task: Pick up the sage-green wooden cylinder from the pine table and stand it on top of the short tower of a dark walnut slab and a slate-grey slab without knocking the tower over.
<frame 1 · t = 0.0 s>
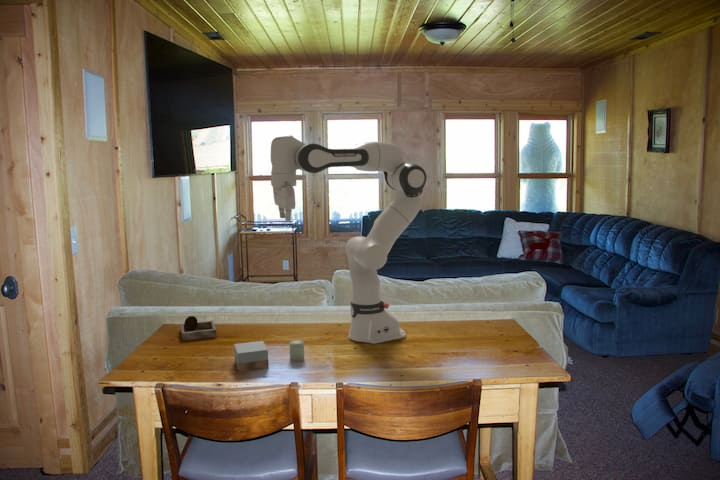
hand: (285, 219, 209), 48 cm above the table, fingers open, 8 cm apart
walnut slab: (251, 366, 198), on the table, touching grey slab
compass: (198, 334, 233), resting in wooden frame
wooden frame: (198, 333, 233), on the table
green cylinder: (297, 359, 203), on the table
grey slab: (251, 356, 198), point 3 cm above the table, touching walnut slab
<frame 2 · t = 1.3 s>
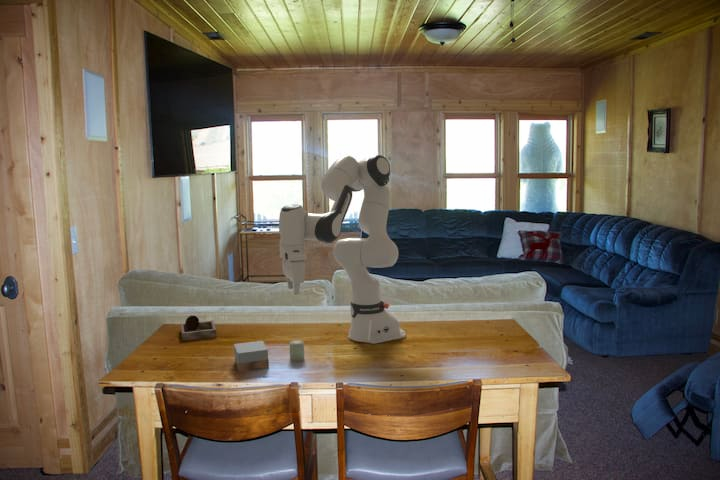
hand: (293, 291, 201), 24 cm above the table, fingers open, 8 cm apart
walnut slab: (251, 366, 198), on the table
grey slab: (251, 356, 198), point 3 cm above the table
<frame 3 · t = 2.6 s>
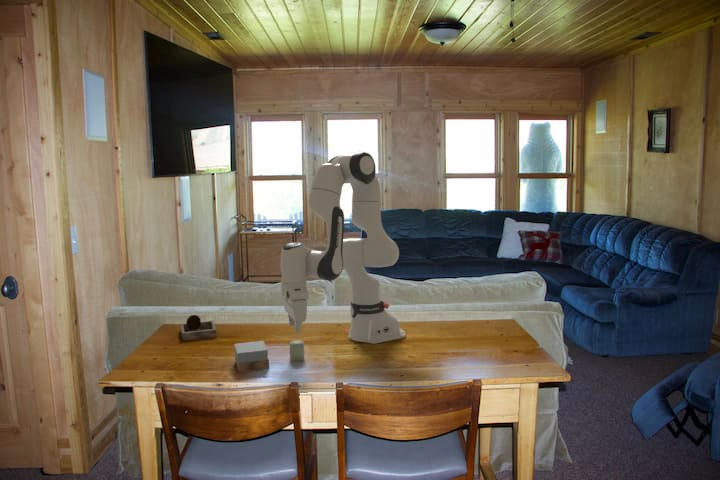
hand: (294, 328, 201), 11 cm above the table, fingers open, 8 cm apart
walnut slab: (252, 366, 198), on the table, touching grey slab
grey slab: (251, 356, 198), point 3 cm above the table, touching walnut slab
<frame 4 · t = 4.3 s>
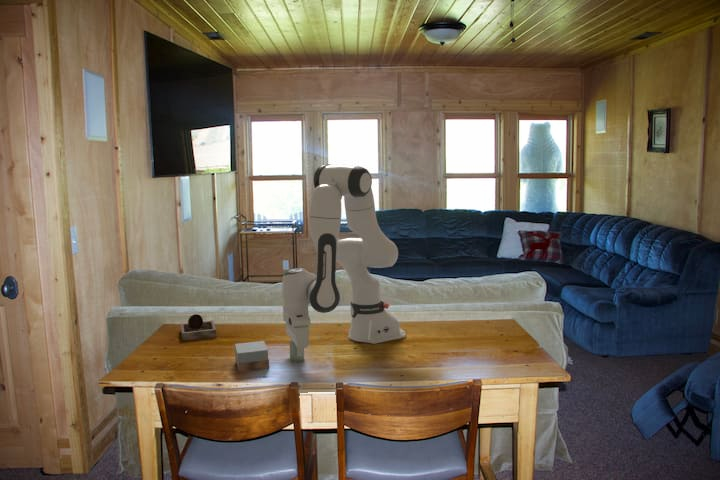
hand: (297, 352, 203), 2 cm above the table, fingers closed on green cylinder, 5 cm apart
green cylinder: (297, 359, 203), on the table, touching gripper
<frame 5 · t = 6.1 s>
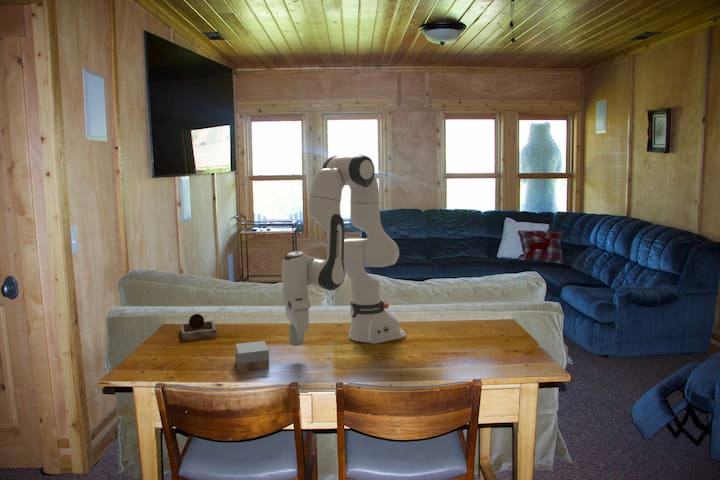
hand: (296, 336, 202), 8 cm above the table, fingers closed on green cylinder, 5 cm apart
green cylinder: (296, 342, 203), point 6 cm above the table, touching gripper
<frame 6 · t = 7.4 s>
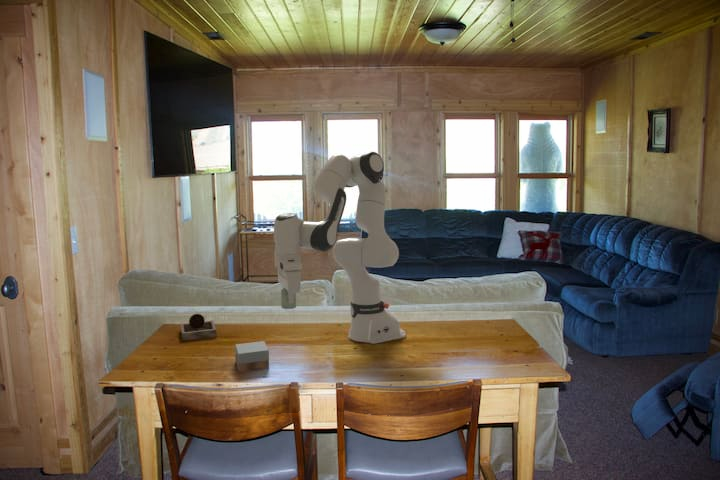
hand: (288, 300, 199), 21 cm above the table, fingers closed on green cylinder, 5 cm apart
compass: (201, 333, 235), resting in wooden frame
green cylinder: (288, 307, 200), point 19 cm above the table, touching gripper
everything else where it was.
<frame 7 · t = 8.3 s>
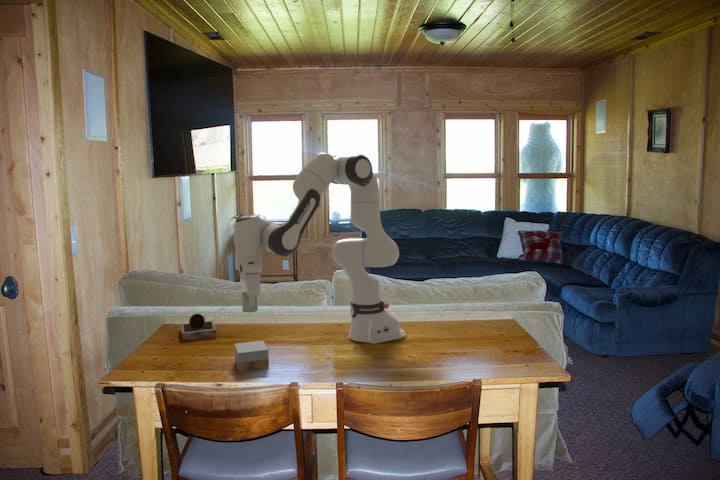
hand: (250, 303, 195), 22 cm above the table, fingers closed on green cylinder, 5 cm apart
compass: (201, 333, 235), resting in wooden frame
green cylinder: (250, 310, 195), point 19 cm above the table, touching gripper
everything else where it was.
when the fingers open (11 cm above the table, at t = 11.7 s): green cylinder drops 2 cm, resting on grey slab.
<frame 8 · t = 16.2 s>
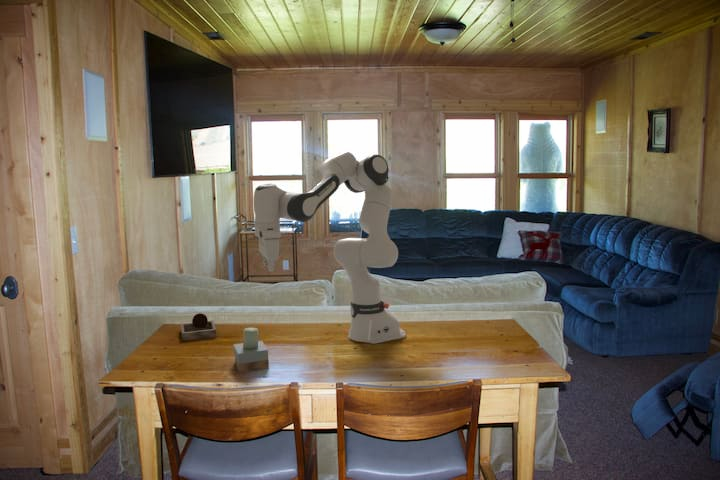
hand: (268, 268, 205), 31 cm above the table, fingers open, 8 cm apart
walnut slab: (251, 366, 198), on the table
green cylinder: (250, 346, 197), point 7 cm above the table, touching grey slab
grey slab: (250, 356, 197), point 3 cm above the table, touching green cylinder
at the end: green cylinder 0.1 cm off-centre on the grey slab, point 3.5 cm above the grey slab's base; grey slab 0.2 cm off-centre on the walnut slab, point 3.5 cm above the walnut slab's base; green cylinder tilted 0° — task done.
